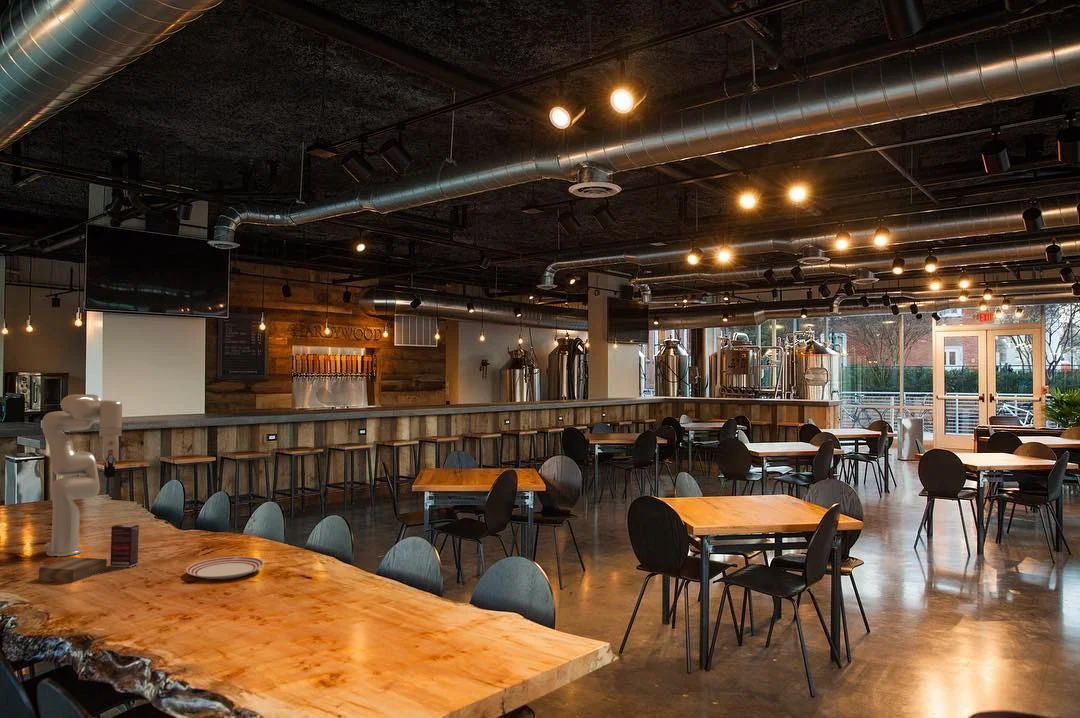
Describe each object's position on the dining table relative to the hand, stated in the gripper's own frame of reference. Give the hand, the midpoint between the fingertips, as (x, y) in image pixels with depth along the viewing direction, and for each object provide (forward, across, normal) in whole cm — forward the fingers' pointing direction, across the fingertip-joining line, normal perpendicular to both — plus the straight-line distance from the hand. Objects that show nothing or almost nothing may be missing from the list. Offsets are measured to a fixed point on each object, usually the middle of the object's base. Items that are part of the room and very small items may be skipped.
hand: (109, 476), depth 279 cm
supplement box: (+36, 0, -6) cm, 36 cm away
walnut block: (+36, -7, +11) cm, 38 cm away
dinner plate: (+37, -31, -38) cm, 61 cm away
